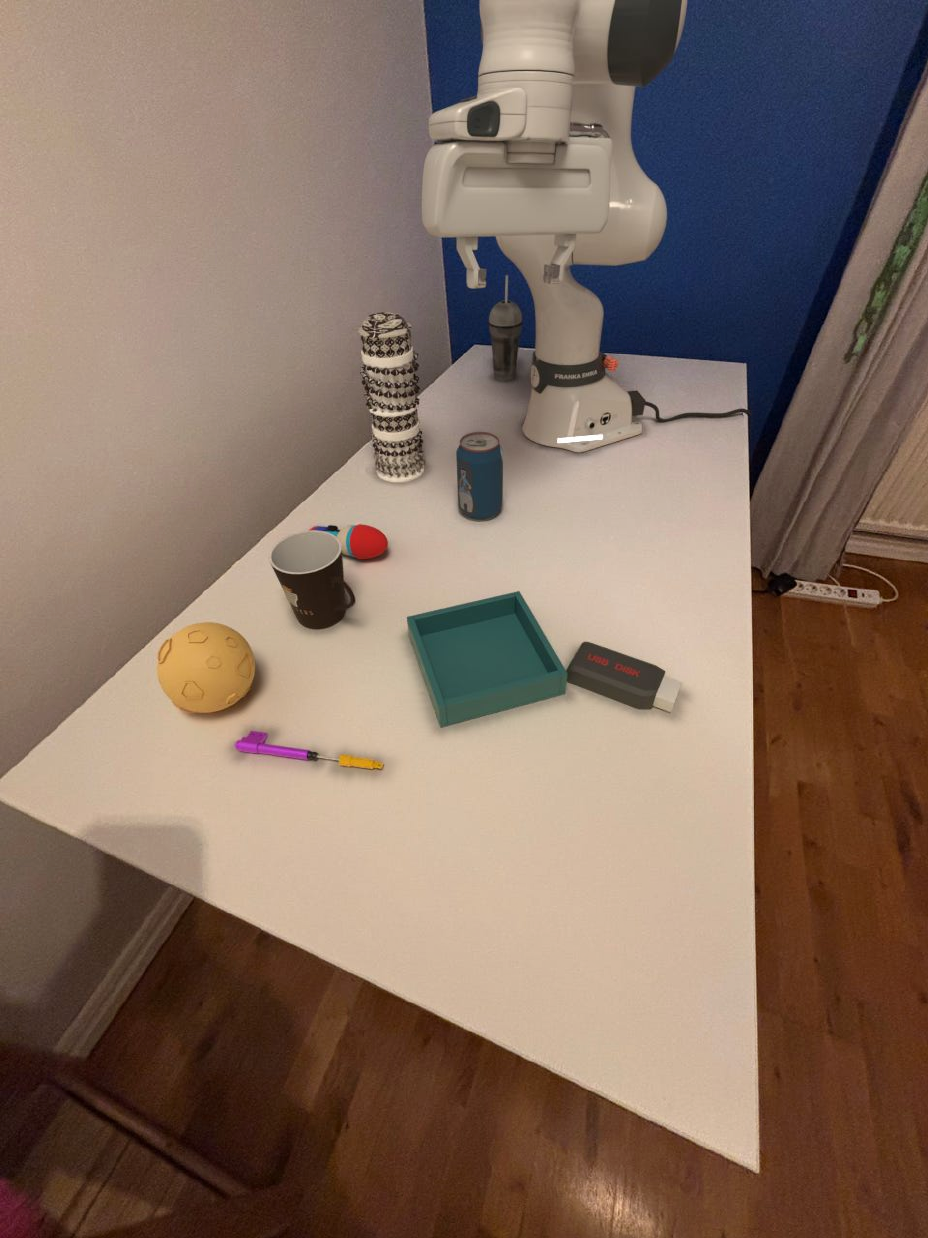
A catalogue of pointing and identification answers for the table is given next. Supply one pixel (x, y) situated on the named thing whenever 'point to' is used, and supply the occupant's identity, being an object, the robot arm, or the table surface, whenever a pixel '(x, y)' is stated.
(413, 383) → the decorative candle
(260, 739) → the purple orange rod tool
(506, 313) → the beverage cup
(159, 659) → the stress ball
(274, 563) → the coffee mug
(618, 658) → the usb drive
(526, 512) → the table surface
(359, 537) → the toy figure
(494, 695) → the bin
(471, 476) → the soda can
